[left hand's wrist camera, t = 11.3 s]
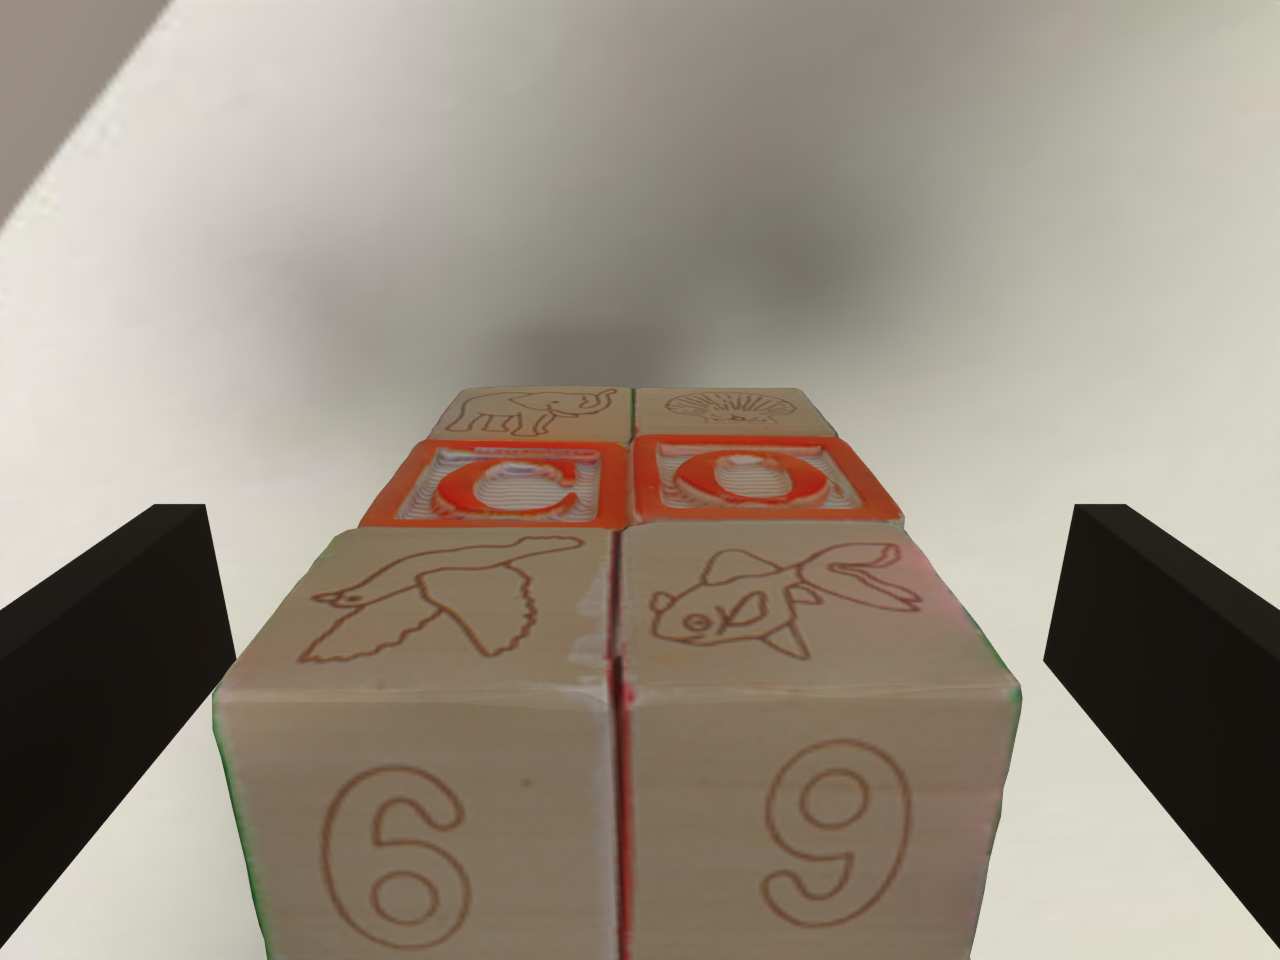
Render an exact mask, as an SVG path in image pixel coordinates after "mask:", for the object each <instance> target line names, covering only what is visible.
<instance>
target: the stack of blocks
mask: <svg viewBox="0 0 1280 960" xmlns="http://www.w3.org/2000/svg"><path fill="white" fill-rule="evenodd" d="M904 521H905V516H904V514H903V513H902V511H901V509H900V508H899V506H898V505H897V504H896V502H895V501H894V500H893V499H892V497H891V496H890V495H889V494H888V492H887V491H886V490H885V489H884V488H883V486H882V485H881V484H880V482H879V481H878V480H877V478H876V477H875V476H874V475H873V473H872V472H871V471H870V470H869V468H868V467H867V466H866V465H865V464H864V463H863V462H862V460H861V459H860V458H859V457H858V456H857V454H856V453H855V452H854V451H853V449H852V448H851V447H850V446H849V444H848V443H846V442H845V441H843V440H842V439H840V438H839V437H838V434H837V432H836V431H835V430H834V428H833V427H832V426H831V425H830V424H829V423H828V422H827V421H826V420H825V418H824V417H823V416H822V414H821V413H820V412H819V410H818V409H817V408H816V407H815V406H814V405H813V404H812V403H811V401H810V400H809V399H808V398H807V396H806V395H805V394H804V393H803V392H802V391H801V390H799V389H796V388H767V389H762V388H638V389H632V388H627V387H613V386H503V387H485V388H469V389H467V390H464V391H462V392H461V393H460V394H459V395H458V396H457V397H456V398H455V399H454V401H453V402H452V403H451V404H450V406H449V407H448V408H447V409H446V411H445V412H444V413H443V414H442V416H441V418H440V419H439V421H438V423H437V424H436V426H435V427H434V428H433V429H432V432H431V433H430V435H429V436H428V437H427V439H426V440H424V441H421V442H419V443H418V444H417V445H416V446H415V447H414V448H413V449H412V451H411V453H410V454H409V456H408V457H407V459H406V460H405V461H404V462H403V463H402V464H401V466H400V467H399V469H398V470H397V472H396V473H395V475H394V476H393V478H392V479H391V480H390V481H389V482H388V484H387V485H386V486H385V487H384V488H383V490H382V491H381V492H380V493H379V495H378V496H377V497H376V499H375V500H374V502H373V503H372V505H371V506H370V508H369V509H368V511H367V512H366V513H365V515H364V516H363V518H362V519H361V521H360V523H359V525H358V528H357V529H351V530H347V531H345V532H343V533H341V534H339V535H337V536H335V537H334V538H333V540H332V541H331V542H330V544H329V545H328V547H327V548H326V549H325V550H324V551H323V552H322V554H321V555H320V556H319V557H318V558H317V559H316V560H315V561H314V563H313V564H312V566H311V568H310V569H309V571H308V572H307V573H306V574H305V575H304V576H303V577H302V578H301V579H300V580H299V581H298V583H297V584H296V585H295V587H294V588H293V589H292V591H291V592H290V593H289V594H288V595H287V596H286V598H285V599H284V600H283V602H282V603H281V604H280V606H279V607H278V608H277V610H276V611H275V612H274V614H273V615H272V616H271V617H270V619H269V620H268V621H267V623H266V624H265V625H264V626H263V628H262V629H261V630H260V631H259V633H258V634H257V635H256V636H255V638H254V639H253V640H252V641H251V643H250V644H249V645H248V647H247V648H246V649H245V650H244V651H243V653H242V654H241V655H240V656H239V657H238V659H237V660H236V661H235V662H234V663H233V665H232V666H231V667H230V668H229V669H228V671H227V672H226V674H225V675H224V677H223V678H222V680H221V681H220V683H219V684H218V686H217V687H216V689H215V690H214V692H213V694H212V721H213V732H214V736H215V739H216V742H217V746H218V749H219V752H220V755H221V759H222V764H223V768H224V772H225V777H226V781H227V786H228V790H229V794H230V799H231V803H232V808H233V812H234V816H235V820H236V824H237V829H238V833H239V837H240V841H241V845H242V849H243V854H244V858H245V862H246V867H247V872H248V877H249V883H250V888H251V893H252V898H253V902H254V906H255V910H256V914H257V918H258V922H259V926H260V929H261V932H262V935H263V937H264V941H265V947H266V953H267V960H970V953H971V949H972V945H973V941H974V937H975V933H976V928H977V924H978V919H979V914H980V909H981V905H982V900H983V895H984V890H985V884H986V878H987V872H988V865H989V860H990V856H991V852H992V848H993V844H994V840H995V835H996V832H997V828H998V825H999V821H1000V818H1001V809H1002V798H1003V788H1004V784H1005V781H1006V778H1007V775H1008V772H1009V767H1010V762H1011V757H1012V752H1013V747H1014V742H1015V737H1016V733H1017V728H1018V723H1019V719H1020V714H1021V706H1022V692H1021V685H1020V683H1019V682H1018V680H1017V679H1016V678H1015V677H1014V675H1013V674H1012V673H1011V672H1010V670H1009V669H1008V668H1007V666H1006V665H1005V663H1004V662H1003V660H1002V659H1001V658H1000V656H999V655H998V653H997V652H996V650H995V649H994V647H993V646H992V645H991V643H990V642H989V640H988V639H987V637H986V636H985V634H984V633H983V631H982V630H981V628H980V627H979V626H978V624H977V623H976V622H975V620H974V619H973V618H972V617H971V615H970V614H969V613H968V611H967V610H966V609H965V608H964V606H963V605H962V604H961V603H960V601H959V600H958V599H957V598H956V596H955V595H954V594H953V593H952V591H951V590H950V589H949V588H948V586H947V585H946V584H945V583H944V581H943V580H942V579H941V578H940V576H939V575H938V574H937V572H936V571H935V569H934V568H933V566H932V565H931V563H930V561H929V560H928V558H927V557H926V555H925V554H924V553H923V552H922V551H921V549H920V548H919V547H918V546H917V545H916V544H915V542H914V541H913V540H912V539H911V538H910V537H909V535H908V533H907V532H906V531H905V530H904Z"/></svg>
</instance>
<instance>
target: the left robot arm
mask: <svg viewBox="0 0 1280 960" xmlns="http://www.w3.org/2000/svg"><path fill="white" fill-rule="evenodd" d="M236 660H237V659H236V654H235V649H234V644H233V639H232V634H231V629H230V624H229V619H228V614H227V609H226V604H225V600H224V595H223V590H222V585H221V580H220V575H219V570H218V565H217V560H216V555H215V550H214V545H213V540H212V535H211V530H210V525H209V521H208V516H207V511H206V506H205V504H154V505H152V506H151V507H150V508H148V509H147V510H145V511H144V512H142V513H141V514H139V515H138V516H136V517H135V518H134V519H132V520H131V521H129V522H128V523H126V524H125V525H123V526H122V527H120V528H119V529H118V530H116V531H115V532H113V533H112V534H110V535H109V536H107V537H106V538H105V539H103V540H102V541H100V542H99V543H97V544H96V545H94V546H93V547H91V548H90V549H89V550H87V551H86V552H84V553H83V554H81V555H80V556H78V557H77V558H75V559H74V560H73V561H71V562H70V563H68V564H67V565H65V566H64V567H62V568H61V569H59V570H58V571H57V572H55V573H54V574H52V575H51V576H49V577H48V578H46V579H45V580H43V581H42V582H41V583H39V584H38V585H36V586H35V587H33V588H32V589H30V590H29V591H28V592H26V593H25V594H23V595H22V596H20V597H19V598H17V599H16V600H14V601H13V602H12V603H10V604H9V605H7V606H6V607H4V608H3V609H1V610H0V949H1V948H2V946H3V945H4V944H5V943H6V941H7V940H8V939H9V938H10V937H11V935H12V934H13V933H14V932H15V931H16V929H17V928H18V927H19V926H20V924H21V923H22V922H23V921H24V920H25V918H26V917H27V916H28V915H29V913H30V912H31V911H32V910H33V909H34V907H35V906H36V905H37V904H38V903H39V901H40V900H41V899H42V898H43V896H44V895H45V894H46V893H47V892H48V890H49V889H50V888H51V887H52V885H53V884H54V883H55V882H56V881H57V879H58V878H59V877H60V876H61V874H62V873H63V872H64V871H65V870H66V868H67V867H68V866H69V865H70V864H71V862H72V861H73V860H74V859H75V857H76V856H77V855H78V854H79V853H80V851H81V850H82V849H83V848H84V846H85V845H86V844H87V843H88V842H89V840H90V839H91V838H92V837H93V836H94V834H95V833H96V832H97V831H98V829H99V828H100V827H101V826H102V825H103V823H104V822H105V821H106V820H107V818H108V817H109V816H110V815H111V814H112V812H113V811H114V810H115V809H116V808H117V806H118V805H119V804H120V803H121V801H122V800H123V799H124V798H125V797H126V795H127V794H128V793H129V792H130V790H131V789H132V788H133V787H134V786H135V784H136V783H137V782H138V781H139V779H140V778H141V777H142V776H143V775H144V773H145V772H146V771H147V770H148V769H149V767H150V766H151V765H152V764H153V762H154V761H155V760H156V759H157V758H158V756H159V755H160V754H161V753H162V751H163V750H164V749H165V748H166V747H167V745H168V744H169V743H170V742H171V741H172V739H173V738H174V737H175V736H176V734H177V733H178V732H179V731H180V730H181V728H182V727H183V726H184V725H185V723H186V722H187V721H188V720H189V719H190V717H191V716H192V715H193V714H194V713H195V711H196V710H197V709H198V708H199V706H200V705H201V704H202V703H203V702H204V700H205V699H206V698H207V697H208V695H209V694H210V693H211V692H212V691H213V689H214V688H215V687H216V686H217V684H218V683H219V682H220V681H221V680H222V678H223V677H224V675H225V674H226V672H227V671H228V669H229V668H230V667H231V666H232V665H233V663H234V662H235V661H236ZM1043 661H1044V663H1045V664H1046V665H1047V666H1048V667H1049V669H1050V670H1051V671H1052V672H1053V674H1054V675H1055V676H1056V677H1057V678H1058V680H1059V681H1060V682H1061V683H1062V684H1063V686H1064V687H1065V688H1066V689H1067V691H1068V692H1069V693H1070V694H1071V695H1072V697H1073V698H1074V699H1075V700H1076V702H1077V703H1078V704H1079V705H1080V706H1081V708H1082V709H1083V710H1084V711H1085V712H1086V714H1087V715H1088V716H1089V717H1090V719H1091V720H1092V721H1093V722H1094V723H1095V725H1096V726H1097V727H1098V728H1099V730H1100V731H1101V732H1102V733H1103V734H1104V736H1105V737H1106V738H1107V739H1108V741H1109V742H1110V743H1111V744H1112V745H1113V747H1114V748H1115V749H1116V750H1117V751H1118V753H1119V754H1120V755H1121V756H1122V758H1123V759H1124V760H1125V761H1126V762H1127V764H1128V765H1129V766H1130V767H1131V769H1132V770H1133V771H1134V772H1135V773H1136V775H1137V776H1138V777H1139V778H1140V779H1141V781H1142V782H1143V783H1144V784H1145V786H1146V787H1147V788H1148V789H1149V790H1150V792H1151V793H1152V794H1153V795H1154V797H1155V798H1156V799H1157V800H1158V801H1159V803H1160V804H1161V805H1162V806H1163V808H1164V809H1165V810H1166V811H1167V812H1168V814H1169V815H1170V816H1171V817H1172V818H1173V820H1174V821H1175V822H1176V823H1177V825H1178V826H1179V827H1180V828H1181V829H1182V831H1183V832H1184V833H1185V834H1186V836H1187V837H1188V838H1189V839H1190V840H1191V842H1192V843H1193V844H1194V845H1195V846H1196V848H1197V849H1198V850H1199V851H1200V853H1201V854H1202V855H1203V856H1204V857H1205V859H1206V860H1207V861H1208V862H1209V864H1210V865H1211V866H1212V867H1213V868H1214V870H1215V871H1216V872H1217V873H1218V874H1219V876H1220V877H1221V878H1222V879H1223V881H1224V882H1225V883H1226V884H1227V885H1228V887H1229V888H1230V889H1231V890H1232V892H1233V893H1234V894H1235V895H1236V896H1237V898H1238V899H1239V900H1240V901H1241V903H1242V904H1243V905H1244V906H1245V907H1246V909H1247V910H1248V911H1249V912H1250V913H1251V915H1252V916H1253V917H1254V918H1255V920H1256V921H1257V922H1258V923H1259V924H1260V926H1261V927H1262V928H1263V929H1264V931H1265V932H1266V933H1267V934H1268V935H1269V937H1270V938H1271V939H1272V940H1273V941H1274V943H1275V944H1276V945H1277V946H1278V948H1279V949H1280V610H1279V609H1277V608H1276V607H1274V606H1273V605H1271V604H1270V603H1268V602H1267V601H1266V600H1264V599H1263V598H1261V597H1260V596H1258V595H1257V594H1255V593H1254V592H1252V591H1251V590H1250V589H1248V588H1247V587H1245V586H1244V585H1242V584H1241V583H1239V582H1238V581H1237V580H1235V579H1234V578H1232V577H1231V576H1229V575H1228V574H1226V573H1225V572H1223V571H1222V570H1221V569H1219V568H1218V567H1216V566H1215V565H1213V564H1212V563H1210V562H1209V561H1207V560H1206V559H1205V558H1203V557H1202V556H1200V555H1199V554H1197V553H1196V552H1194V551H1193V550H1191V549H1190V548H1189V547H1187V546H1186V545H1184V544H1183V543H1181V542H1180V541H1178V540H1177V539H1175V538H1174V537H1173V536H1171V535H1170V534H1168V533H1167V532H1165V531H1164V530H1162V529H1161V528H1160V527H1158V526H1157V525H1155V524H1154V523H1152V522H1151V521H1149V520H1148V519H1146V518H1145V517H1144V516H1142V515H1141V514H1139V513H1138V512H1136V511H1135V510H1133V509H1132V508H1130V507H1129V506H1128V505H1126V504H1075V506H1074V511H1073V516H1072V521H1071V525H1070V530H1069V535H1068V540H1067V545H1066V550H1065V555H1064V560H1063V565H1062V570H1061V575H1060V580H1059V585H1058V590H1057V595H1056V600H1055V604H1054V609H1053V614H1052V619H1051V624H1050V629H1049V634H1048V639H1047V644H1046V649H1045V654H1044V659H1043Z"/></svg>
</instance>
